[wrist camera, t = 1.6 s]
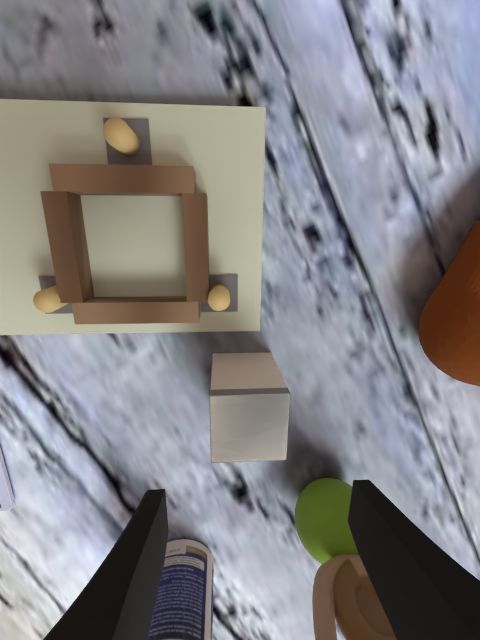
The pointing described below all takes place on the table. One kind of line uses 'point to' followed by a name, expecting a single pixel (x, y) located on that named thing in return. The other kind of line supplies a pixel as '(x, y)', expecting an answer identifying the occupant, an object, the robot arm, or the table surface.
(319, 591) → the snail figurine
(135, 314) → the socket collar
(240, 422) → the plug block
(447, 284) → the smoking pipe
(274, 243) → the table surface
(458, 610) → the robot arm
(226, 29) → the table surface
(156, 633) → the pill bottle
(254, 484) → the table surface
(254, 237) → the board
